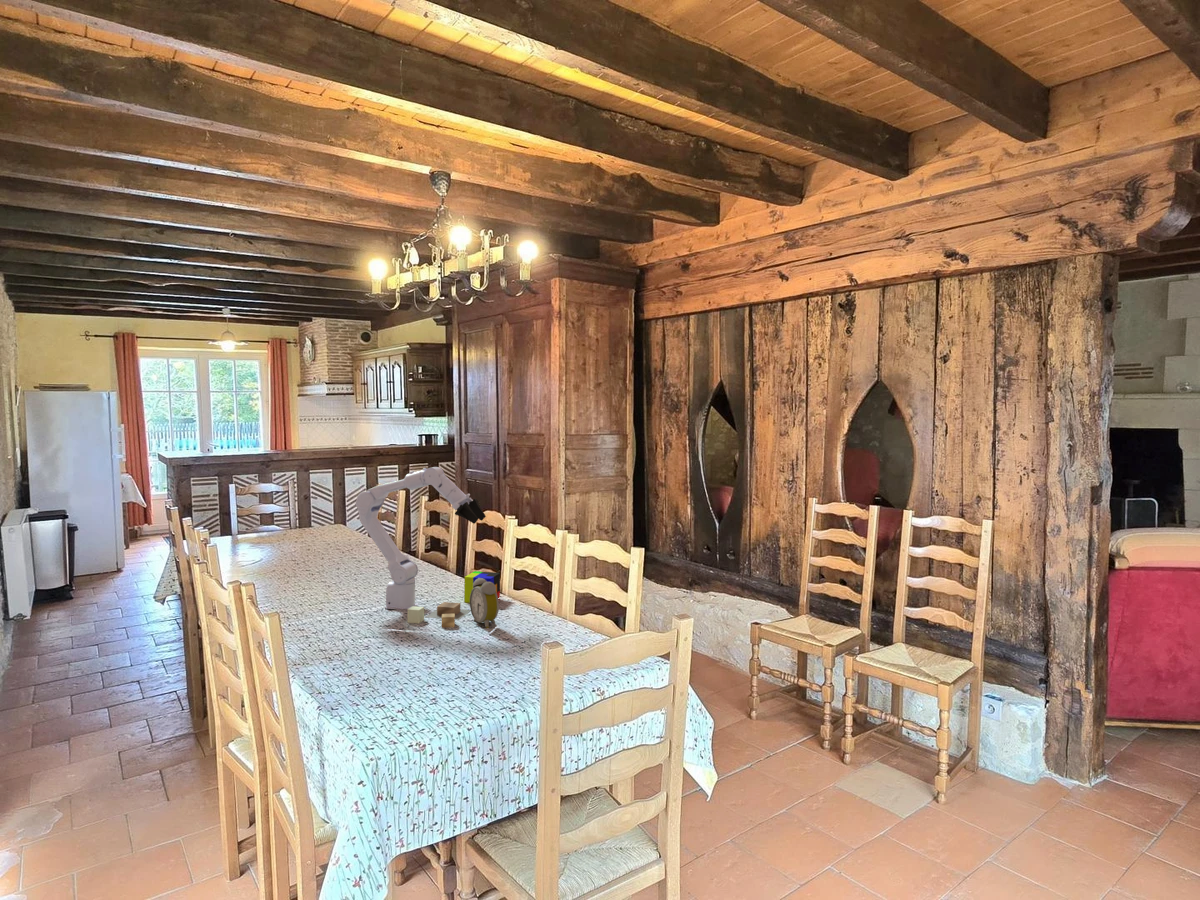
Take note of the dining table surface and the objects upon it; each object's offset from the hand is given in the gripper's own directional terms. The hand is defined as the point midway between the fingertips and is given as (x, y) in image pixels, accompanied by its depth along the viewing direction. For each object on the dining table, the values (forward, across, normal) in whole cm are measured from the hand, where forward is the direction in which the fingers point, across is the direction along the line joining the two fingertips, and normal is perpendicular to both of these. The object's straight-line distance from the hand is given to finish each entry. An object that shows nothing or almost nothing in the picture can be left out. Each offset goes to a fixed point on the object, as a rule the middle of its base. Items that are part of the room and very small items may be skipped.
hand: (480, 520), depth 244 cm
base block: (+14, -6, +30) cm, 33 cm away
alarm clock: (+27, -14, +20) cm, 36 cm away
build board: (+15, -6, +30) cm, 34 cm away
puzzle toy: (+18, +14, +27) cm, 36 cm away
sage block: (+9, -17, +35) cm, 40 cm away
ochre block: (+18, -19, +27) cm, 38 cm away
